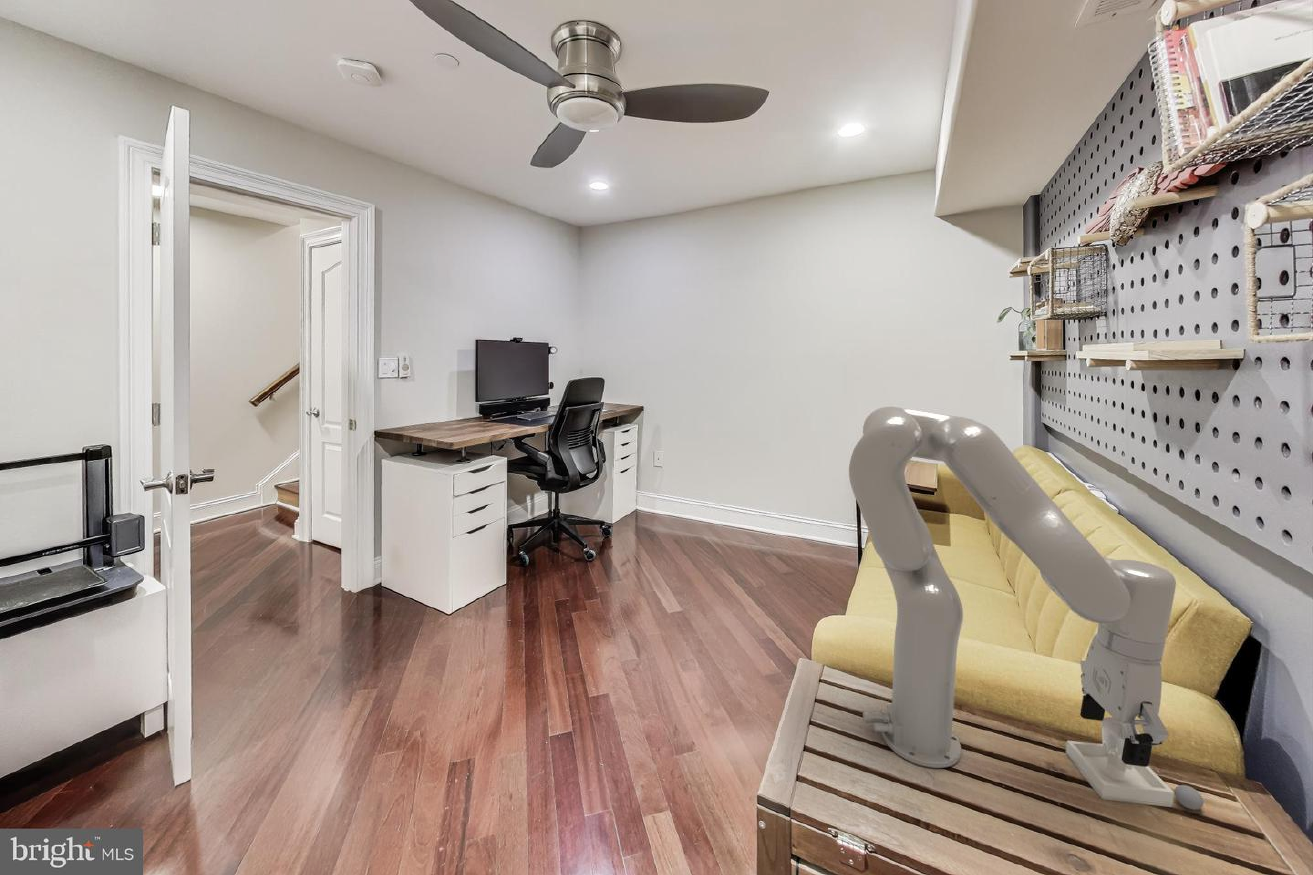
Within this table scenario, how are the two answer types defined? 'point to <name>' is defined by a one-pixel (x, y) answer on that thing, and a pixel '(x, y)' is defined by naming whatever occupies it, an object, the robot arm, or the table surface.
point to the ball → (1188, 797)
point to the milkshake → (1114, 749)
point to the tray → (1136, 790)
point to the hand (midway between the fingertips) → (1111, 739)
